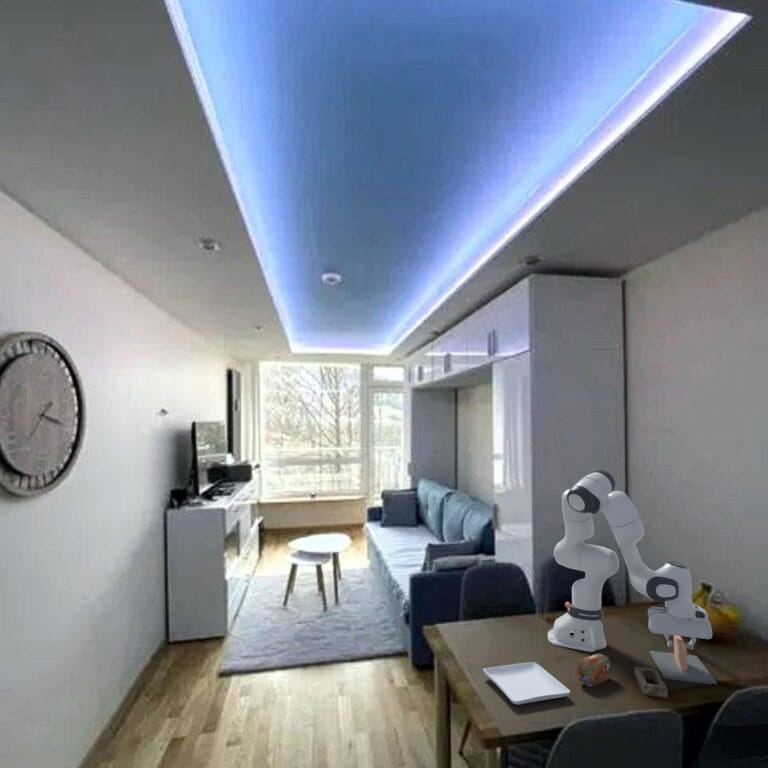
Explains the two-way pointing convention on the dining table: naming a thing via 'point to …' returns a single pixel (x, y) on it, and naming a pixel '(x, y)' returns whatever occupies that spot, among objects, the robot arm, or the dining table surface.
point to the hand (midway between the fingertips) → (680, 647)
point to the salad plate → (526, 682)
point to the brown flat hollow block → (651, 689)
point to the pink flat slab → (680, 653)
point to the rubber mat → (673, 671)
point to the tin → (594, 669)
